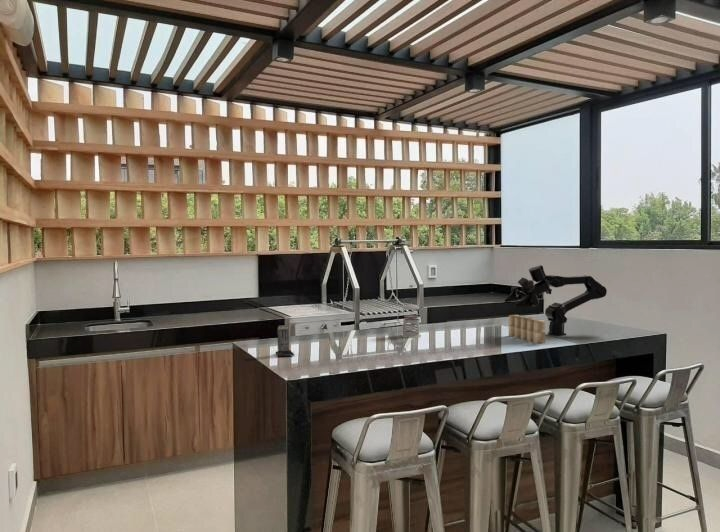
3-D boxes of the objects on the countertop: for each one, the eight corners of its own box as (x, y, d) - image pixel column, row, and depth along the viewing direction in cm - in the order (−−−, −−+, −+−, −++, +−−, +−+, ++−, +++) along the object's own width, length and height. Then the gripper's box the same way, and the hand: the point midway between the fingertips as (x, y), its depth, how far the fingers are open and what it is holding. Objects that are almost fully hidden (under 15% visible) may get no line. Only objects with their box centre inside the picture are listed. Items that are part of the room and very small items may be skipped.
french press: (422, 337, 264) (422, 285, 263) (397, 337, 264) (397, 285, 263) (420, 334, 274) (420, 283, 272) (396, 334, 274) (397, 283, 273)
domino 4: (535, 340, 257) (536, 318, 256) (538, 340, 255) (538, 319, 255) (526, 340, 255) (527, 319, 255) (529, 341, 253) (529, 319, 253)
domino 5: (542, 342, 252) (542, 320, 252) (545, 342, 251) (545, 320, 250) (533, 342, 251) (533, 320, 250) (535, 343, 249) (536, 321, 248)
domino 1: (517, 335, 270) (517, 314, 270) (519, 335, 269) (519, 315, 268) (508, 335, 269) (508, 315, 268) (510, 336, 267) (511, 315, 266)
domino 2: (523, 336, 266) (523, 316, 265) (525, 337, 264) (525, 316, 264) (514, 337, 264) (514, 316, 264) (516, 338, 262) (516, 317, 262)
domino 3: (529, 338, 261) (529, 317, 261) (531, 339, 260) (532, 317, 259) (520, 339, 260) (520, 318, 259) (522, 339, 258) (523, 318, 257)
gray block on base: (272, 354, 228) (271, 324, 227) (290, 352, 231) (289, 323, 231) (279, 358, 219) (279, 328, 219) (298, 356, 223) (297, 326, 222)
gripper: (521, 271, 275) (495, 284, 273) (543, 278, 258) (515, 293, 255) (528, 291, 278) (501, 304, 276) (549, 299, 261) (522, 314, 258)
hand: (509, 303), depth 266 cm, fingers open, 9 cm apart
